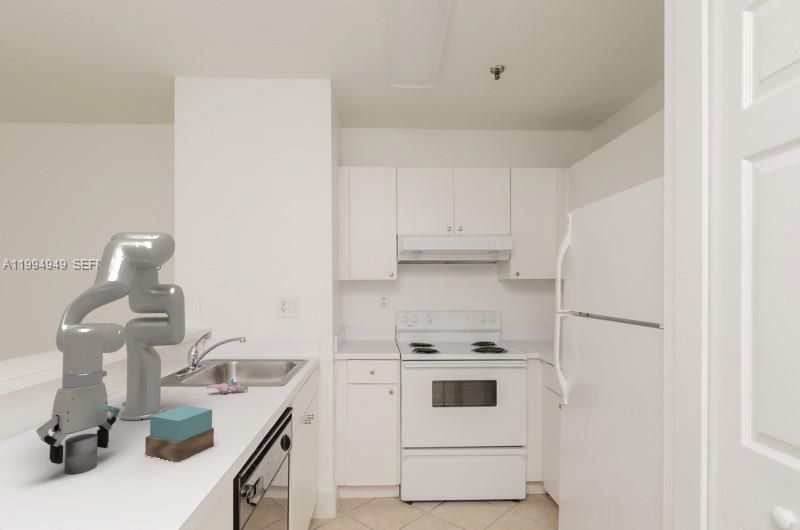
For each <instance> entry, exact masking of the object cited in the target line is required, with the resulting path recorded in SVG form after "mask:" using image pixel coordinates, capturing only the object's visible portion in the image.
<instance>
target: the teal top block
mask: <svg viewBox="0 0 800 530" xmlns="http://www.w3.org/2000/svg"><path fill="white" fill-rule="evenodd" d="M149 423H150V424H149V436H150V437H154V438H160V439H165V440H170V441H176V442H181V441H183V440H185V439H188V438H190V437H193V436H195V435H198V434H200V433H203V432H205V431H208V430H210V429H212V428H213V409H211V408H205V407H196V406H190V405H181V406H179V407H174V408H171V409H169V410H166V411H165V412H162V413H159V414H156V415H153V416H150V418H149Z"/></svg>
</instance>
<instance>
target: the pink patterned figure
mask: <svg viewBox="0 0 800 530" xmlns="http://www.w3.org/2000/svg"><path fill="white" fill-rule="evenodd" d="M235 380H236V379H235V378H231V379H230V381H229V383H230V384H232V385H233V386H232V387H231V386H230V384H228V383H226V382H223V383H220V384H211V385H208V386H206V390H208V389H212V388H213V389H216V390H218V391H219V393H222V394H224V393H225V395H227V394H228V393H229V392H230V391H231V392H233V393H235V392H236V393H239V394H243V393H245V390H246V392H248V390H249V386H246V385H244V386H242V385H241V384H239V383H238V382H236V381H235Z"/></svg>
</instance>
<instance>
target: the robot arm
mask: <svg viewBox="0 0 800 530" xmlns="http://www.w3.org/2000/svg"><path fill="white" fill-rule="evenodd" d="M175 250H176V243H175V238H174V237H173V236H172V235H171V234H170V233H167V232H150V231H149V232H148V231H147V232H146V231H144V232H143V231H123V232H116V233H114V234H113V235H112V236H111V239H110V241H109V242H107V243H106V245H105V246H104V249H103V252H102V254H101V255H102V256H101V259H100V263H99V266H98V269H97V271H96V276H95V280H94V282H93V285H92V286H90V287H89V288H87V289H85V290H84V291H83V292H82V293H80V294H79V295H77V297H75V299H73V300H72V301H71V302H70V304H68V306H66V308H65V310H64V312H63V313H62V316H61V319H60V322H59V325H58V328H57V332H56V336H55V345H56V347H57V349H58V351H59V352H60V353H62V378H61V387H60V388H58V389H57V390H56V393H55V395H54V396H55V397H54V400H53V404H52V405H53V406H52V410H51V411H52V412H51V419H49V420H48V421H46V422H45V423H44V424H42V425H41V426H40V427H38V428H37V429H36V430H35V431H36V434H37V435H38V436H39V438H40V440H41V441H42V442H43V443H46V444H47V445H48V446H49V460H50V462H51V463H52V464H54V465H55V464H56V465H61V464H63V463H64V445H63V444H62V442H64V441H65V440H66V437H67V436H68V435H72V434H75V433H79V432H82V431H86V430H88V429H93V428H96V427H97V428H98V429H97V431H96V434H97V448H101V449H107V448H108V447H109V437H110V431H111V430H112V428H113V425H114V424H115V423H116V421H117V418H118V416H119V417H120V419H121V420H123V421H124V420H125V421H142V420H141V419H143V420H147V419H150V416H153V415H156V414H159V413H162V412H166V411H167V410H166V407H165V406H163V405H161V386H162V385H161V383H162V381H161V380H162V373H161V372H162V358H161V356H160V354H159V352H158V351H157V350H156V349H155V348H154V347H161V346H162V347H165V346H177V345H181V344H182V343H183V341H184V339H185V336H186V308H185V305H186V304H185V294H184V291H183V288H182V287H181V286H180V285H178V284H175V283H174V284H171V283H169V284H168V283H164V284H163V283H160V282H159V269H158V268H160V267H161V266H163V265H165V264H166V263H167V262H168V261H169V260H171V258H172V257H173V255H174V253H175ZM126 296H128V306H129V309H130V311H131V312H133V313H137V314H165V315H167V316H141V317H134V318H132V319H130V320H128V321H127V322H126V323H125V325H124V326H122V325H121V324H119V323H115V322H114V323H113V322H103V323H102V322H100V323H99V322H97V323H96V322H94V323H93V322H92V323H91V322H89V323H88V322H87V323H83V320H84V319H85V317H86V316H88V314H90V313H92V312H93V311H95V310H96V309H98V308H100V307H103V306H105V305H108V304H110V303H114V302H116V301H119V300H120V299H122V298H125V297H126ZM124 346H125V347H126V348H125V349H126V400H125V401H123V402H121V403H120V406H121V407H124V411H123V412H121V408H120V407H116V406H112V405H109V403H108V392H107V387H106V383H105V382H103V381H104V380H103V378H104V377H107V375H108V372H107V370H103V363H104V362H103V361H104V360H103V359H104V356H103V354H112V353H116V352H118V351H119V350H121V349H122V348H123V347H124ZM120 412H121V413H120ZM109 413H110V414H109ZM119 414H120V415H119ZM49 431H51V432H52V435H51V434H50V433H49Z"/></svg>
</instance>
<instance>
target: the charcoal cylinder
mask: <svg viewBox="0 0 800 530" xmlns="http://www.w3.org/2000/svg"><path fill="white" fill-rule="evenodd" d="M97 466H98V447H97V433H82V434H78V435H73V436H71V437H69V438H66V439H65V440H64V474H65V475H68V476H69V475H70V476H71V475H74V476H75V475H79V474H86V473H88V472H90V471H92V470H94V469H96V468H95V467H97Z"/></svg>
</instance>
